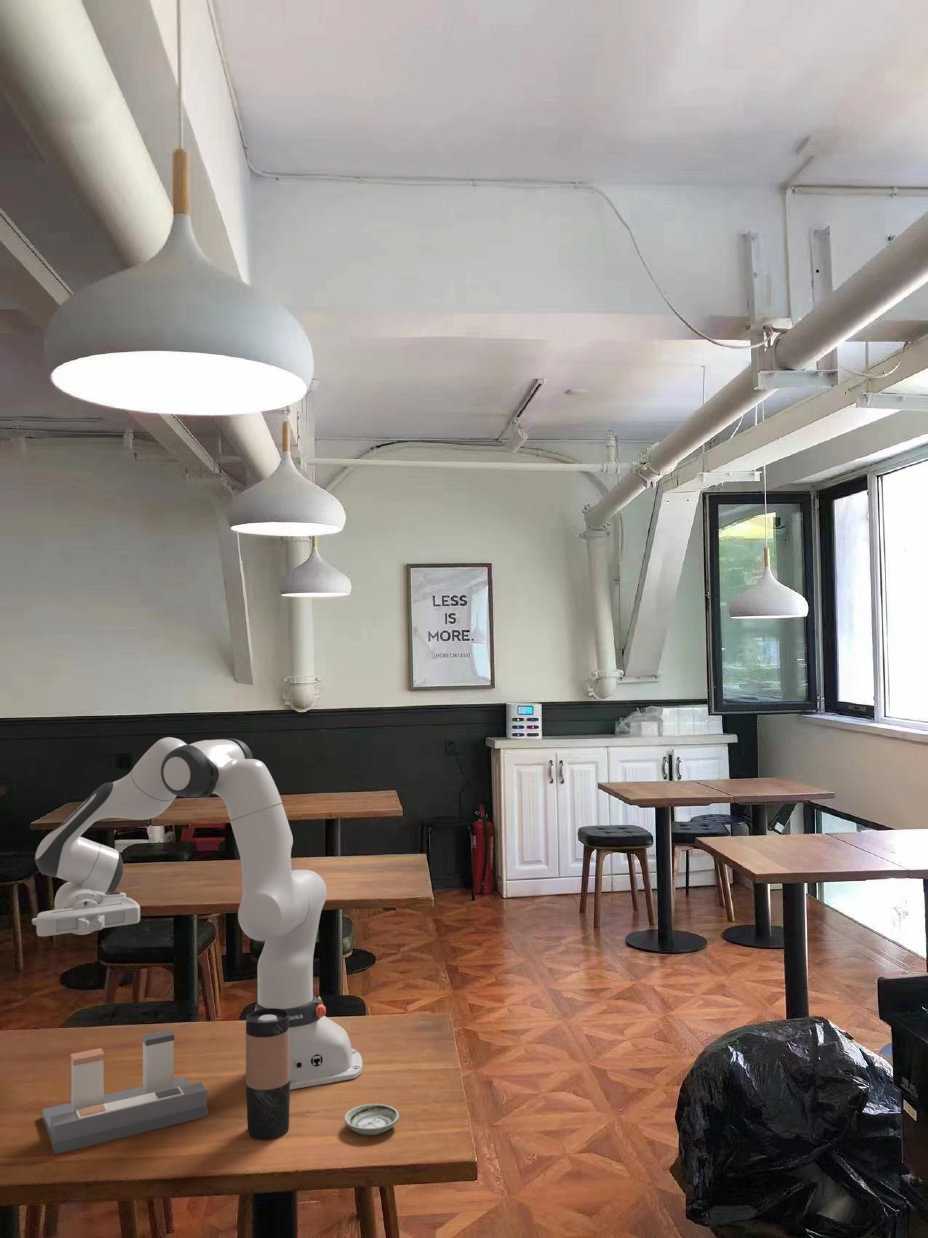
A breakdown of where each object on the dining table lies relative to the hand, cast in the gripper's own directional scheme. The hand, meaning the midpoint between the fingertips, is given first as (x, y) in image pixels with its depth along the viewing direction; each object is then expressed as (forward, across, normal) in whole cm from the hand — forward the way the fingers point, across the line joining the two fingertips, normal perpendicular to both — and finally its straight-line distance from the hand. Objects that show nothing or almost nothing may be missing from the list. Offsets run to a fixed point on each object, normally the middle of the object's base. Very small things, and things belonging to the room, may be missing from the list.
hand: (94, 926), depth 198 cm
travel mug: (+40, +22, +30) cm, 55 cm away
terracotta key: (+21, -5, +28) cm, 36 cm away
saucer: (+49, +38, +30) cm, 69 cm away
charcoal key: (+19, +8, +28) cm, 35 cm away
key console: (+21, +2, +30) cm, 37 cm away
